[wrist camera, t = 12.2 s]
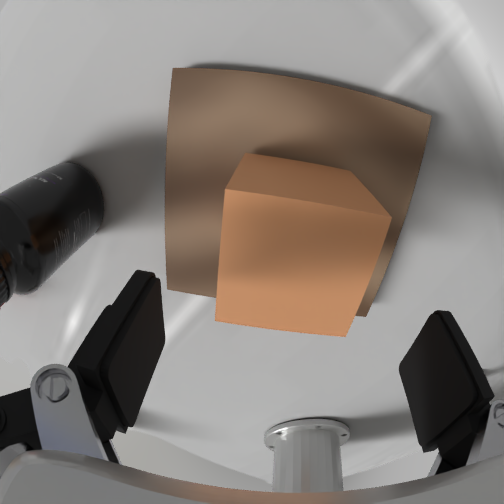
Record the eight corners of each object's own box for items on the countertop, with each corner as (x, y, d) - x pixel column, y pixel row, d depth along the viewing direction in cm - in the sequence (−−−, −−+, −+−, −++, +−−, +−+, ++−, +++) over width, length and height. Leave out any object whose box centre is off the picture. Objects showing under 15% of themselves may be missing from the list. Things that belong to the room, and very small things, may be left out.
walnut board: (362, 305, 23) (365, 316, 22) (172, 278, 24) (167, 289, 22) (421, 113, 15) (431, 115, 14) (180, 69, 16) (172, 68, 14)
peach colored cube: (327, 260, 19) (345, 336, 13) (234, 247, 19) (215, 320, 13) (350, 170, 16) (392, 217, 10) (245, 152, 16) (224, 189, 10)
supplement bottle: (74, 142, 18) (-49, 201, 8) (122, 210, 21) (22, 310, 10) (35, 191, 20) (-61, 259, 10) (77, 249, 23) (-5, 339, 13)
